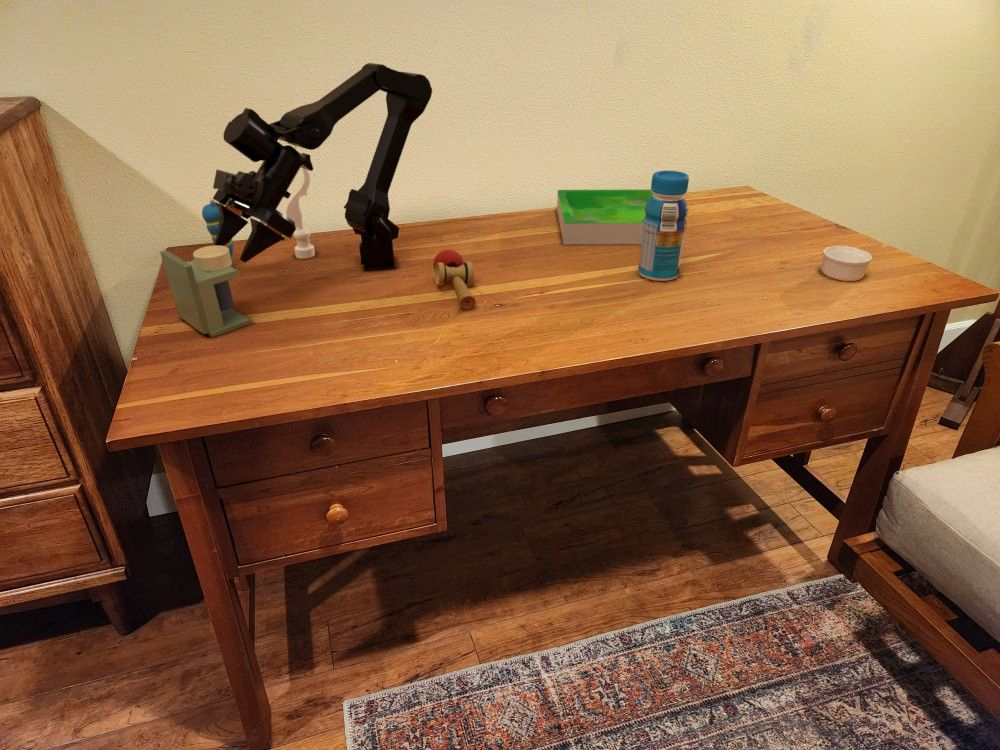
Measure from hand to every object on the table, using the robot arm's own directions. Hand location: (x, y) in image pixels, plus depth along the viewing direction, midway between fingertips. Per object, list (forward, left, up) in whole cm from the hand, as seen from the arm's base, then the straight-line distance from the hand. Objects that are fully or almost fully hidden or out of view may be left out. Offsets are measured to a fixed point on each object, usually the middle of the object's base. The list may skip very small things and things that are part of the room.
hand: (229, 254), depth 117 cm
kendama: (-40, 0, -11) cm, 41 cm away
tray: (-82, -29, -11) cm, 88 cm away
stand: (+5, +3, -11) cm, 12 cm away
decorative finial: (-11, -26, -11) cm, 31 cm away
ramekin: (-117, +9, -11) cm, 118 cm away
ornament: (+5, -22, -11) cm, 26 cm away
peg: (+3, +2, -9) cm, 10 cm away
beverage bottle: (-81, +1, -11) cm, 82 cm away
